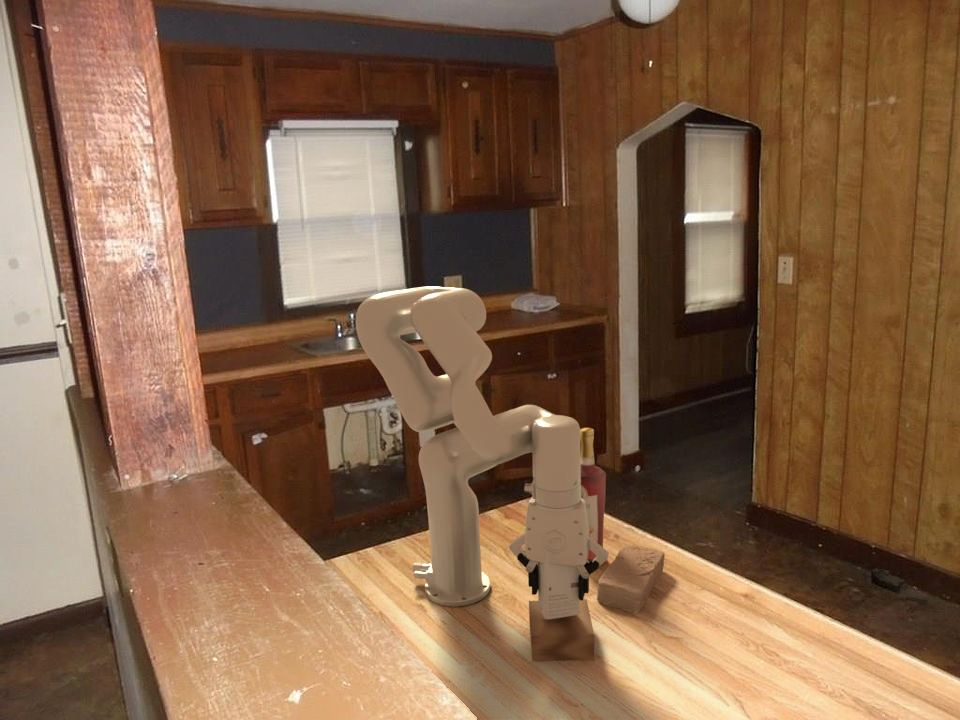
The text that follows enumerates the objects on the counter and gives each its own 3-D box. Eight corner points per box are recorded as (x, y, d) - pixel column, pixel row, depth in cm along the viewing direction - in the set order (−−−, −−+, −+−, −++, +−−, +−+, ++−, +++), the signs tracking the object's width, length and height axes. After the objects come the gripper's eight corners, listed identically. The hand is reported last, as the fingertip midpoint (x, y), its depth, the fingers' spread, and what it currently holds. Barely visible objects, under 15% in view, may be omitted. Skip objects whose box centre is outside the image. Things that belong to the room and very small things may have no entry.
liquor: (613, 558, 143) (612, 428, 137) (593, 572, 138) (592, 438, 132) (583, 547, 148) (581, 421, 142) (563, 561, 143) (560, 431, 136)
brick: (639, 615, 124) (640, 591, 123) (595, 603, 128) (594, 580, 127) (665, 571, 138) (665, 550, 137) (624, 562, 142) (624, 541, 141)
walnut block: (532, 663, 112) (531, 635, 111) (529, 626, 122) (528, 600, 121) (594, 661, 112) (594, 634, 111) (586, 625, 122) (586, 599, 121)
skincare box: (545, 621, 113) (544, 553, 110) (537, 606, 117) (535, 540, 115) (581, 614, 114) (580, 547, 112) (571, 600, 119) (570, 534, 116)
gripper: (498, 498, 110) (502, 599, 114) (609, 507, 105) (609, 612, 109) (509, 480, 117) (512, 575, 121) (614, 487, 112) (614, 587, 116)
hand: (558, 592), depth 115 cm, fingers closed on skincare box, 7 cm apart
